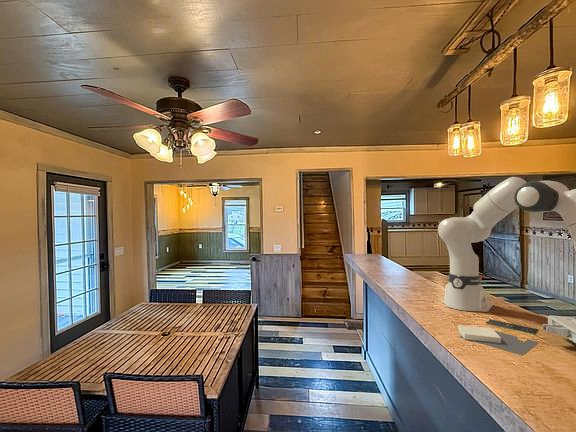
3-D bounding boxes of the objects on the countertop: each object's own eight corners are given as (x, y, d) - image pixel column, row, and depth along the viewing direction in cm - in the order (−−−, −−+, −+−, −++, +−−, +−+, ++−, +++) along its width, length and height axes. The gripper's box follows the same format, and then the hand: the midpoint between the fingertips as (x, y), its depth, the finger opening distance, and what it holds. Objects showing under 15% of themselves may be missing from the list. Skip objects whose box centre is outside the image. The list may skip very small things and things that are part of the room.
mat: (479, 328, 113) (479, 327, 113) (539, 343, 99) (539, 342, 99) (459, 338, 103) (459, 337, 103) (522, 357, 89) (522, 355, 89)
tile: (491, 328, 106) (458, 324, 109) (501, 337, 98) (464, 334, 100) (491, 333, 106) (458, 330, 109) (501, 343, 98) (464, 339, 100)
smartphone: (490, 318, 122) (539, 329, 111) (490, 321, 122) (539, 331, 111) (484, 323, 117) (535, 334, 106) (484, 325, 117) (535, 337, 106)
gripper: (579, 312, 104) (529, 308, 108) (625, 334, 85) (562, 328, 88) (579, 332, 104) (529, 327, 108) (625, 358, 85) (562, 351, 88)
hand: (544, 328), depth 98 cm, fingers closed
